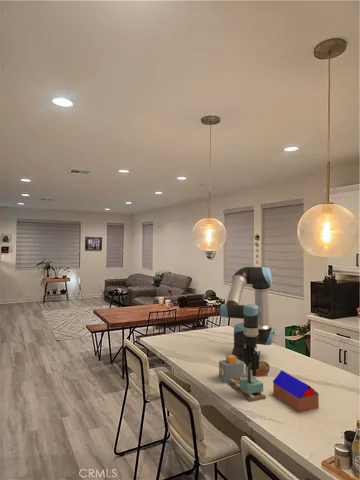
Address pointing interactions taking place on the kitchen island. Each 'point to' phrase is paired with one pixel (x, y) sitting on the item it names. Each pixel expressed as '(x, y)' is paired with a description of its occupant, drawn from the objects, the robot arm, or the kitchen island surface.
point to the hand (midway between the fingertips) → (251, 380)
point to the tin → (262, 369)
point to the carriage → (251, 384)
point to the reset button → (231, 358)
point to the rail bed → (250, 397)
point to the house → (295, 392)
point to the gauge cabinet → (231, 370)
